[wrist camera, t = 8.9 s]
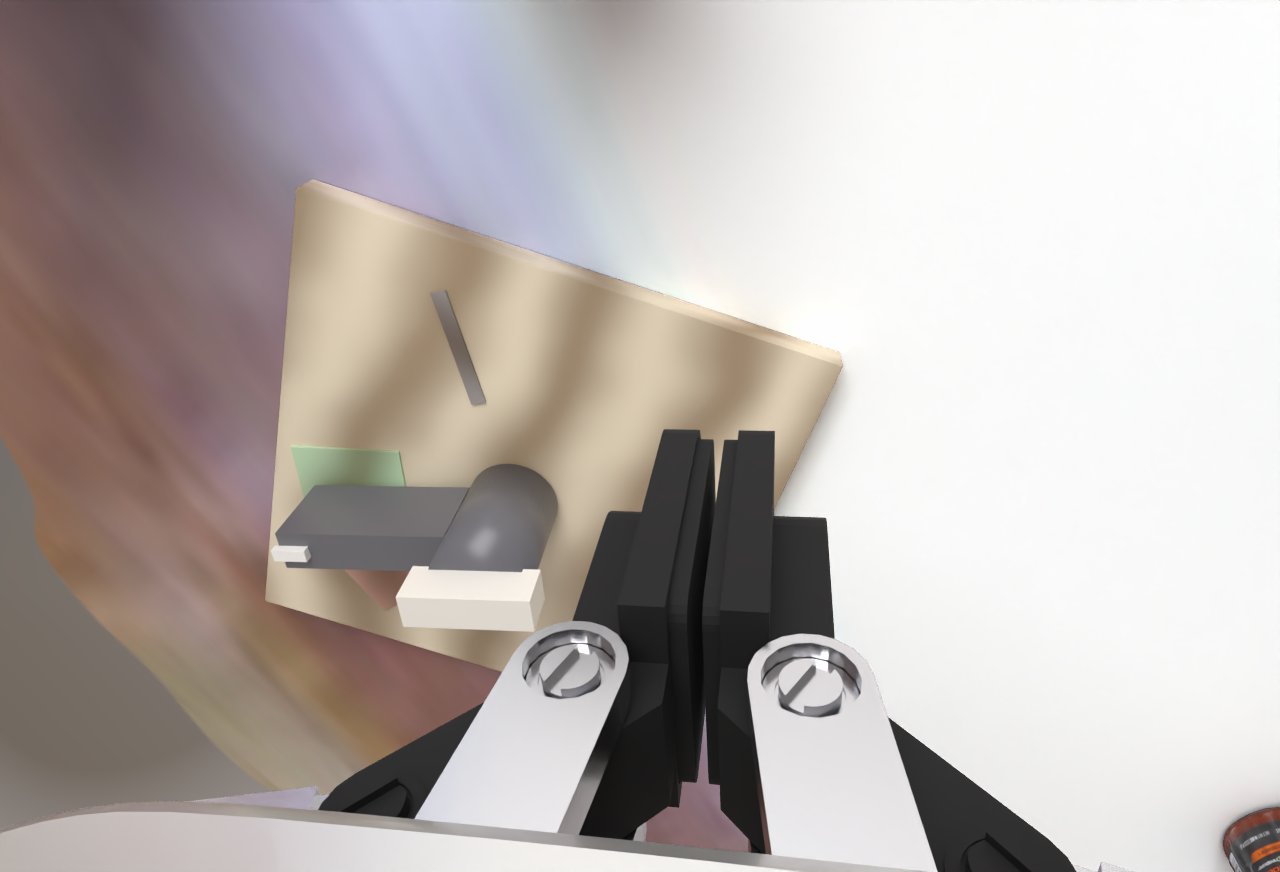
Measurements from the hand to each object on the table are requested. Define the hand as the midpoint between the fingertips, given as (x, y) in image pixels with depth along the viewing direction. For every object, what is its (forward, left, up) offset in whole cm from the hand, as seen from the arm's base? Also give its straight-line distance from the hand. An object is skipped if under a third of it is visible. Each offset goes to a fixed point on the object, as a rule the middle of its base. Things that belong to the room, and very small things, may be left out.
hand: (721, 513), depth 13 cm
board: (+5, +18, -24) cm, 30 cm away
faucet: (+9, +19, -22) cm, 31 cm away
